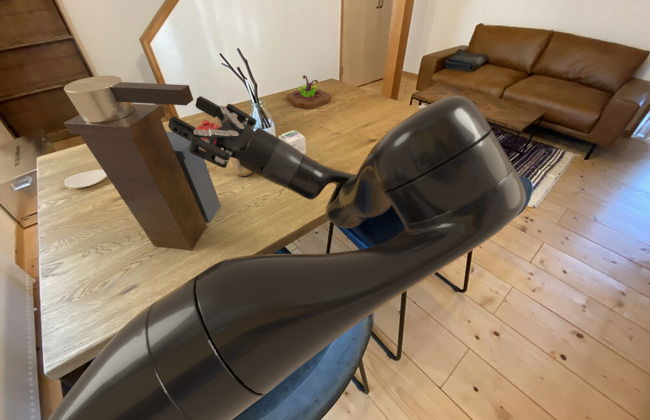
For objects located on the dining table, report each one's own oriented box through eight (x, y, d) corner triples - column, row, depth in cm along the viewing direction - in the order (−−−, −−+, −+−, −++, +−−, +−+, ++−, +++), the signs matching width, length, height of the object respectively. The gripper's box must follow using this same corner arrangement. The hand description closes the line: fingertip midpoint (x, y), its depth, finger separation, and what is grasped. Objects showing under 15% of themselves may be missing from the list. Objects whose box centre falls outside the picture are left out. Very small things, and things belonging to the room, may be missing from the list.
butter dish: (208, 152, 100) (200, 131, 94) (190, 143, 105) (182, 122, 99) (233, 140, 106) (228, 119, 100) (215, 132, 111) (209, 111, 106)
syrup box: (297, 169, 91) (293, 128, 81) (308, 177, 88) (305, 135, 78) (282, 176, 89) (277, 134, 79) (293, 184, 85) (288, 142, 75)
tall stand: (194, 252, 66) (129, 127, 44) (148, 247, 67) (63, 122, 45) (211, 226, 72) (161, 105, 51) (169, 221, 74) (103, 102, 52)
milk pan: (183, 129, 43) (170, 97, 40) (71, 121, 46) (50, 90, 42) (206, 108, 49) (197, 79, 46) (105, 103, 51) (90, 74, 48)
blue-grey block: (212, 224, 73) (182, 151, 58) (170, 220, 74) (130, 147, 59) (224, 204, 78) (200, 133, 64) (185, 201, 80) (153, 130, 65)
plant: (312, 90, 146) (311, 67, 138) (336, 100, 135) (337, 76, 127) (280, 99, 136) (277, 75, 129) (304, 111, 125) (302, 86, 118)
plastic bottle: (240, 181, 87) (224, 120, 73) (231, 171, 90) (214, 112, 77) (258, 173, 90) (246, 114, 76) (248, 164, 93) (235, 106, 80)
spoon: (180, 164, 94) (177, 155, 92) (68, 196, 82) (60, 187, 79) (175, 152, 100) (172, 144, 98) (69, 181, 87) (62, 172, 85)
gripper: (290, 125, 52) (208, 76, 48) (268, 166, 42) (161, 109, 38) (275, 153, 57) (200, 111, 53) (252, 196, 47) (156, 148, 43)
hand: (184, 110), depth 46 cm, fingers open, 8 cm apart
